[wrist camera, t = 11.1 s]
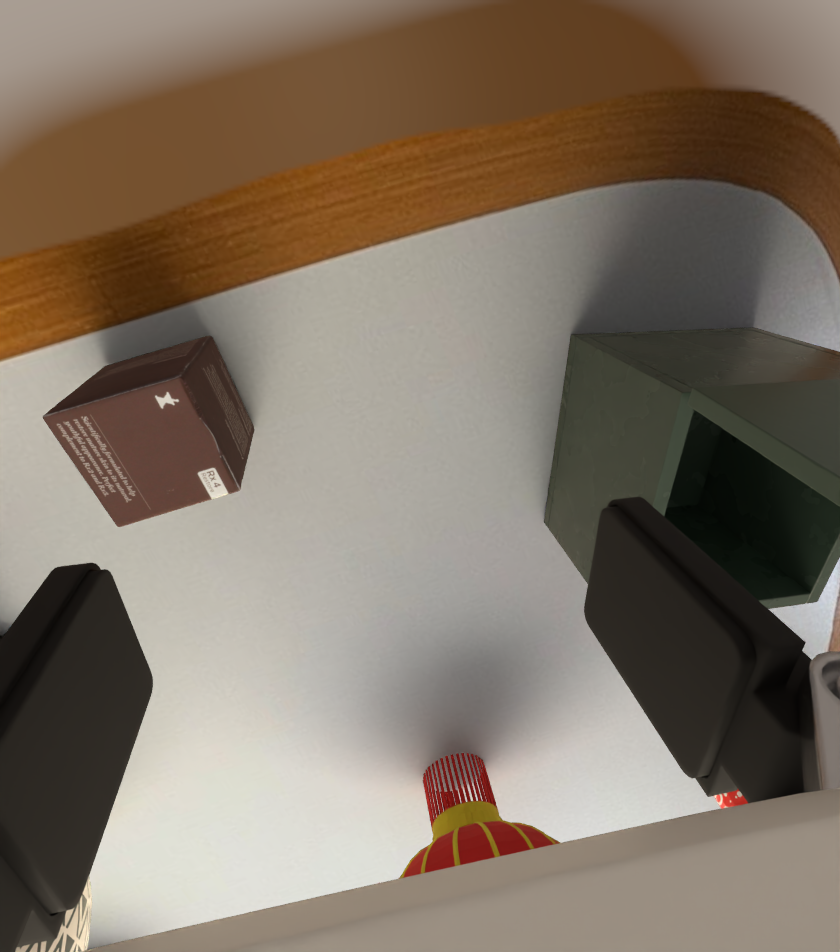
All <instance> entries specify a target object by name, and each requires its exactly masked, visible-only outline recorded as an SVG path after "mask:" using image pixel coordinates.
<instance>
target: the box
mask: <svg viewBox="0 0 840 952" xmlns="http://www.w3.org/2000/svg"><path fill="white" fill-rule="evenodd" d="M43 419H44V421H45V422H46V423H47V425H48V426H49V428H50V429H51V431H52V432H53V434H54V435H55V437H56V438H57V440H58V441H59V443H60V444H61V446H62V447H63V449H64V450H65V452H66V453H67V454H68V456H69V457H70V459H71V460H72V461H73V463H74V464H75V466H76V467H77V469H78V470H79V472H80V473H81V475H82V476H83V477H84V479H85V481H86V482H87V483H88V485H89V486H90V488H91V489H92V490H93V492H94V493H95V495H96V496H97V498H98V499H99V501H100V502H101V504H102V505H103V507H104V508H105V510H106V511H107V512H108V514H109V515H110V517H111V518H112V520H113V521H114V522H115V524H116V525H117V526H118V527H122V526H125V525H129V524H132V523H135V522H138V521H141V520H145V519H148V518H152V517H155V516H158V515H161V514H165V513H168V512H171V511H174V510H177V509H181V508H184V507H187V506H191V505H194V504H197V503H201V502H204V501H207V500H211V499H215V498H218V497H221V496H224V495H227V494H231V493H234V492H237V491H240V489H241V482H242V479H243V475H244V471H245V466H246V463H247V459H248V454H249V450H250V446H251V441H252V437H253V434H254V427H253V425H252V423H251V420H250V418H249V416H248V414H247V412H246V409H245V407H244V405H243V403H242V400H241V398H240V396H239V394H238V392H237V390H236V387H235V385H234V383H233V381H232V379H231V376H230V374H229V372H228V370H227V368H226V365H225V363H224V361H223V359H222V357H221V355H220V353H219V351H218V348H217V346H216V344H215V342H214V340H213V338H212V337H211V336H205V337H202V338H198V339H195V340H192V341H188V342H185V343H182V344H178V345H174V346H172V347H168V348H165V349H161V350H158V351H155V352H151V353H147V354H144V355H141V356H137V357H134V358H131V359H127V360H124V361H121V362H117V363H114V364H111V365H107V366H105V367H103V368H102V369H101V370H100V371H99V372H97V373H96V374H95V375H93V376H92V377H91V378H89V380H87V381H86V382H85V383H83V384H82V385H81V386H80V387H79V388H77V389H76V390H75V391H73V392H72V393H71V394H70V395H68V396H67V397H66V398H65V399H63V400H62V401H61V402H59V403H58V404H57V405H56V406H55V407H54V408H52V409H51V410H50V411H49V412H48V413H46V414H45V415H44V416H43Z"/></svg>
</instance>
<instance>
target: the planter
mask: <svg viewBox="0 0 840 952" xmlns="http://www.w3.org/2000/svg"><path fill="white" fill-rule="evenodd" d="M91 905H92V898H91V884H90V879H89V877H88V880H87V883H86V886H85V889H84V891H83V894H82V896H81V899H80V900H79V902H78V904H77V905H76V906H75V907H74V908H73V909H71V910H67V911H66V914H65V917H64V920H63V922H62V925H61V928H60V931H59V933H58V936H57V939H54V940H49V941H44V942H40V943H35V944H31V945H26V946H21V947H17V948H16V951H15V952H81V951H85V950H87V946H88V939H89V931H90V922H91Z"/></svg>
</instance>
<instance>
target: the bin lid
mask: <svg viewBox="0 0 840 952" xmlns="http://www.w3.org/2000/svg"><path fill="white" fill-rule="evenodd" d="M688 406H690V407H691V408H693V409H694V410H696V411H697V412H699V413H700V414H702V415H703V416H705V417H706V418H708V419H709V420H711V421H712V422H714V423H715V424H717V425H718V426H720V427H721V428H723V429H724V430H726V431H727V432H729V433H730V434H732V435H733V436H735V437H736V438H738V439H739V440H741V441H742V442H744V443H745V444H747V445H748V446H750V447H751V448H753V449H754V450H756V451H757V452H759V453H760V454H762V455H763V456H765V457H766V458H768V459H769V460H771V461H772V462H774V463H775V464H777V465H778V466H780V467H781V468H783V469H784V470H786V471H787V472H789V473H790V474H792V475H793V476H795V477H796V478H798V479H799V480H801V481H802V482H804V483H805V484H807V485H808V486H810V487H811V488H813V489H814V490H816V491H817V492H819V493H820V494H822V495H823V496H825V497H826V498H828V499H829V500H831V501H832V502H834V503H835V504H837V505H838V506H840V379H829V380H812V381H796V382H779V383H762V384H745V385H728V386H711V387H694V388H693V389H692V392H691V395H690V398H689V401H688Z"/></svg>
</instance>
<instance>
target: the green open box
mask: <svg viewBox="0 0 840 952" xmlns="http://www.w3.org/2000/svg"><path fill="white" fill-rule="evenodd" d="M829 379H840V352H838V351H834V350H831V349H827V348H824V347H820V346H817V345H813V344H810V343H806V342H803V341H799V340H796V339H792V338H789V337H785V336H782V335H778V334H775V333H771V332H768V331H764V330H761V329H758V328H754V327H752V328H726V329H701V330H675V331H650V332H625V333H599V334H574V335H571V339H570V346H569V353H568V359H567V366H566V373H565V380H564V387H563V394H562V401H561V408H560V415H559V422H558V429H557V436H556V442H555V449H554V456H553V463H552V470H551V477H550V484H549V491H548V498H547V505H546V512H545V519H544V523H545V524H546V525H547V527H548V528H549V530H550V531H551V533H552V534H553V535H554V537H555V538H556V540H557V541H558V542H559V544H560V545H561V547H562V548H563V549H564V551H565V552H566V554H567V555H568V557H569V558H570V559H571V561H572V562H573V564H574V565H575V566H576V568H577V569H578V571H579V572H580V573H581V575H582V576H583V578H584V579H585V581H586V582H587V583H588V582H589V577H590V571H591V565H592V559H593V553H594V547H595V541H596V535H597V529H598V524H599V518H600V513H601V511H602V509H604V508H607V506H608V504H609V502H610V501H612V500H614V499H623V498H631V497H642V498H643V499H645V500H646V501H647V502H648V503H649V504H651V505H652V506H653V507H654V508H655V509H656V510H657V511H658V512H660V513H661V514H662V515H663V516H664V517H665V518H666V519H667V520H669V521H670V522H671V523H672V524H673V525H674V526H675V527H676V528H677V529H679V530H680V531H681V532H682V533H683V534H684V535H685V536H686V537H688V538H689V539H690V540H691V541H692V542H693V543H694V544H695V545H697V546H698V547H699V548H700V549H701V550H702V551H703V552H704V553H706V554H707V555H708V556H709V557H710V558H711V559H712V560H713V561H715V562H716V563H717V564H718V565H719V566H720V567H721V568H722V569H723V570H725V571H726V572H727V573H728V574H729V575H730V576H731V577H732V578H734V579H735V580H736V581H737V582H738V583H739V584H740V585H741V586H743V587H744V588H745V589H746V590H747V591H748V592H749V593H750V594H752V595H753V596H754V597H755V598H756V599H757V600H758V601H759V602H761V603H762V604H763V605H764V606H765V607H766V608H767V609H771V608H778V607H785V606H792V605H799V604H805V603H813V602H817V601H818V599H819V597H820V595H821V593H822V591H823V589H824V587H825V585H826V583H827V581H828V579H829V577H830V575H831V573H832V571H833V569H834V567H835V565H836V563H837V561H838V559H839V557H840V506H838V505H837V504H835V503H834V502H832V501H831V500H829V499H828V498H826V497H825V496H823V495H822V494H820V493H819V492H817V491H816V490H814V489H813V488H811V487H810V486H808V485H807V484H805V483H804V482H802V481H801V480H799V479H798V478H796V477H795V476H793V475H792V474H790V473H789V472H787V471H786V470H784V469H783V468H781V467H780V466H778V465H777V464H775V463H774V462H772V461H771V460H769V459H768V458H766V457H765V456H763V455H762V454H760V453H759V452H757V451H756V450H754V449H753V448H751V447H750V446H748V445H747V444H745V443H744V442H742V441H741V440H739V439H738V438H736V437H735V436H733V435H732V434H730V433H729V432H727V431H726V430H724V429H723V428H721V427H720V426H718V425H717V424H715V423H714V422H712V421H711V420H709V419H708V418H706V417H705V416H703V415H702V414H700V413H699V412H697V411H696V410H694V409H693V408H691V407H690V406H688V401H689V398H690V395H691V392H692V389H693V388H694V387H711V386H728V385H745V384H762V383H779V382H796V381H812V380H829Z"/></svg>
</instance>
